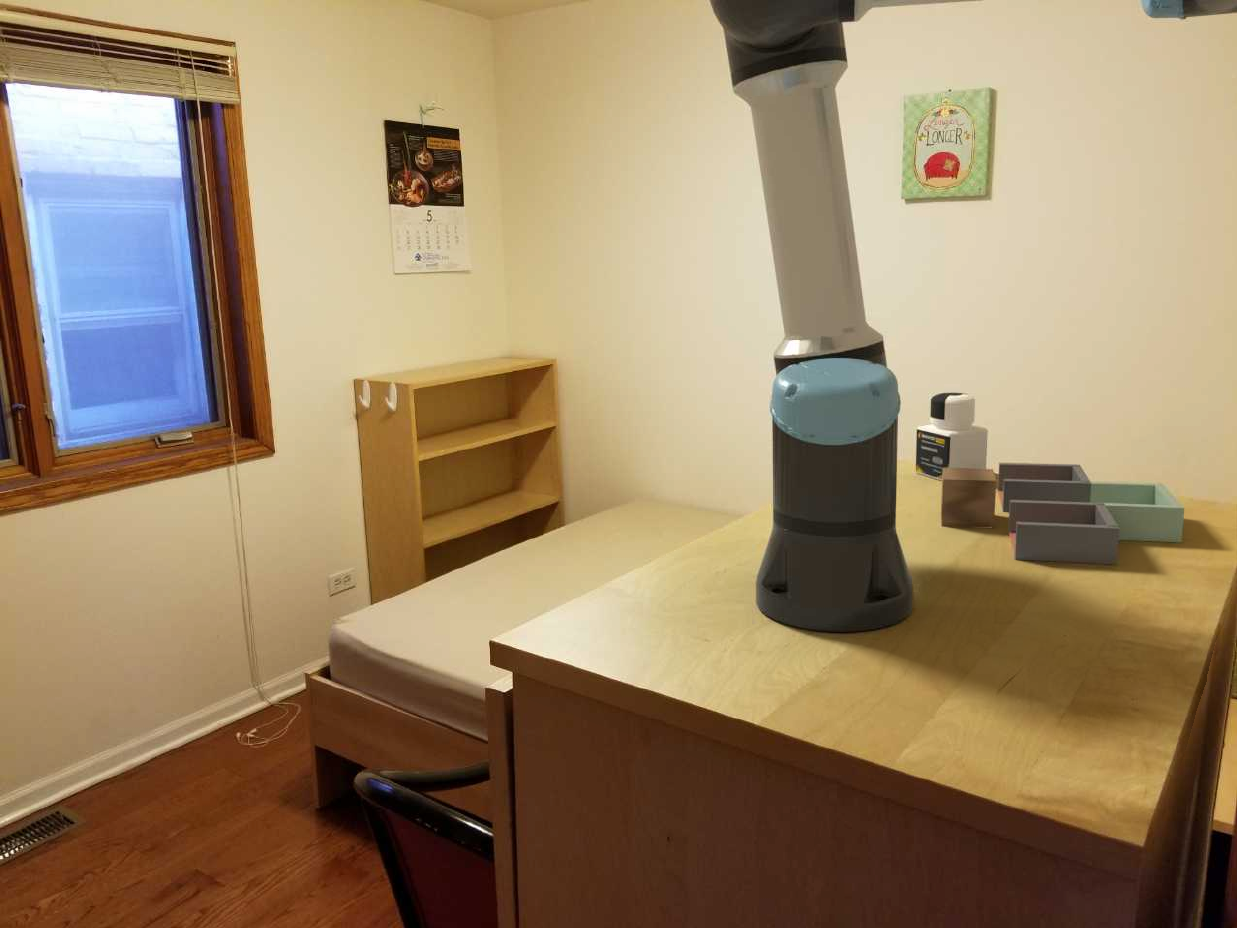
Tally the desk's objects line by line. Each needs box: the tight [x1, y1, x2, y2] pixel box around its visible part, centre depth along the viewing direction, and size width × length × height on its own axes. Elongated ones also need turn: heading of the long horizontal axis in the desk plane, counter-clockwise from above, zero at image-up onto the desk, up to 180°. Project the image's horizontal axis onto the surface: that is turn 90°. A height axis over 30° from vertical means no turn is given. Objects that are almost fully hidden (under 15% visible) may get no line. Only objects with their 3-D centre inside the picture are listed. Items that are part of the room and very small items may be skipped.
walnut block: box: [940, 468, 997, 529], centre depth 120 cm, size 6×6×6 cm
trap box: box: [997, 462, 1185, 565], centre depth 116 cm, size 18×29×4 cm, turn 163°
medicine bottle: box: [915, 392, 989, 482], centre depth 141 cm, size 7×7×12 cm
